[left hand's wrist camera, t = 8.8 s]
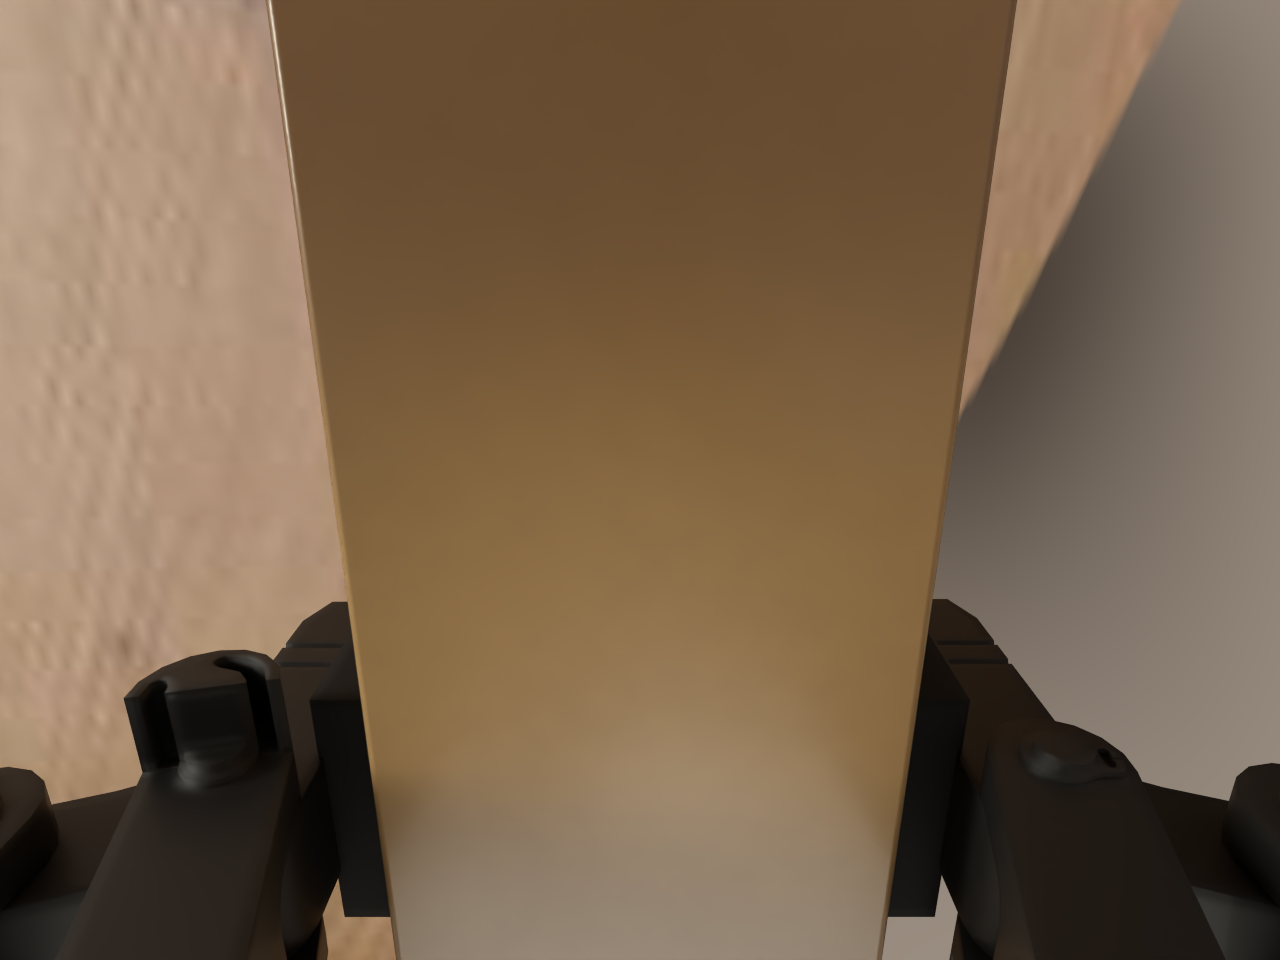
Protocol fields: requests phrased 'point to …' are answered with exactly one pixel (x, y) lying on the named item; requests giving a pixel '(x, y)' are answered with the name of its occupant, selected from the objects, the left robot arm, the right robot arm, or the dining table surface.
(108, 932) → the left robot arm
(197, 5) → the dining table surface
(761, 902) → the bar
